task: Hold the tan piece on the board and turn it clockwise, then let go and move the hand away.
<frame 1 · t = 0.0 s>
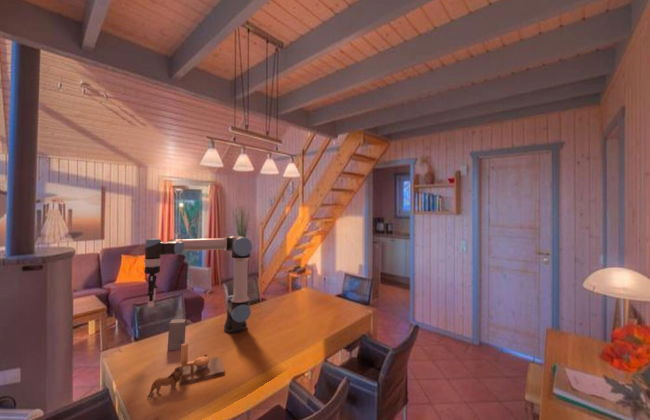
hand: (151, 303, 161), 28 cm above the table, fingers open, 13 cm apart
board: (201, 371, 144), on the table
lion figurine: (166, 391, 128), on the table
tan piece: (195, 353, 142), point 10 cm above the table, hinge at 0.0°
skincare box: (176, 347, 168), on the table
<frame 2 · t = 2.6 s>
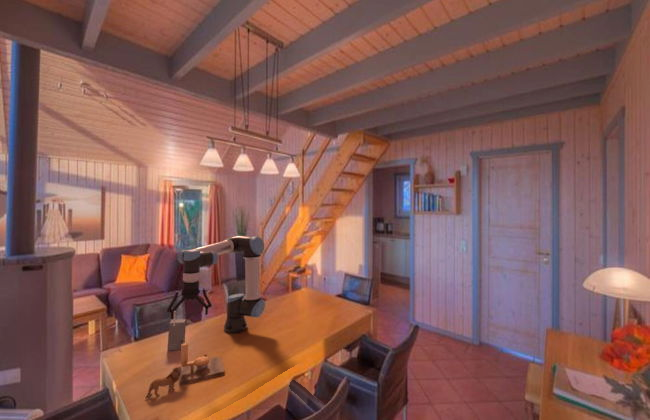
hand: (189, 323, 143), 24 cm above the table, fingers open, 13 cm apart
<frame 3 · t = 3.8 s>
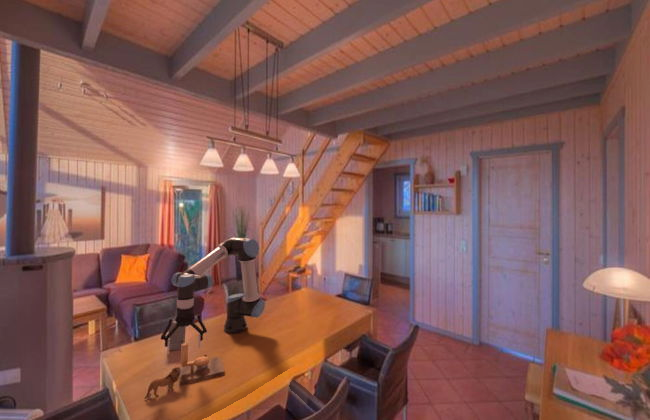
hand: (184, 350, 140), 12 cm above the table, fingers open, 13 cm apart
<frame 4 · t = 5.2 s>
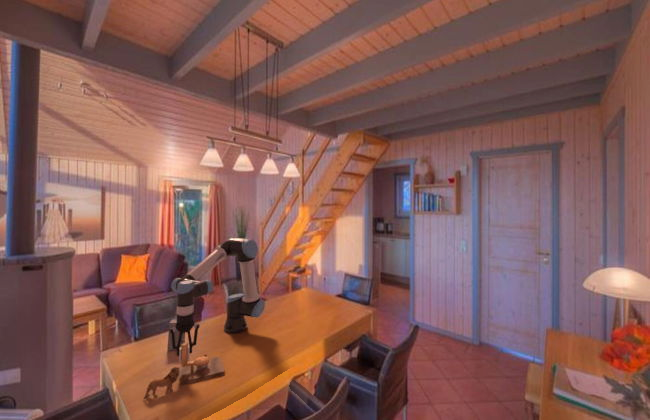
hand: (184, 360, 140), 7 cm above the table, fingers closed on tan piece, 3 cm apart
tan piece: (195, 353, 142), point 10 cm above the table, hinge at 0.0°, touching gripper
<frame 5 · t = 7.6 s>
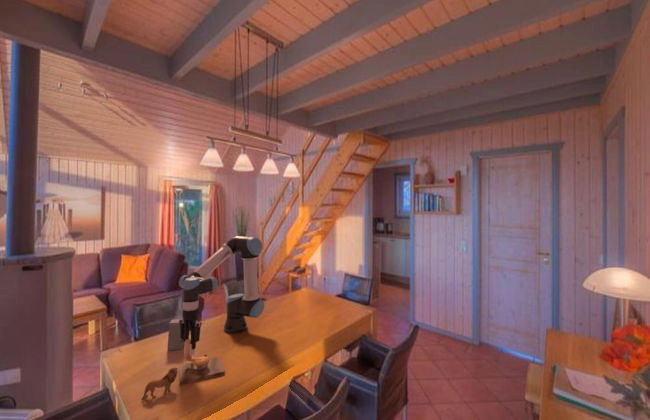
hand: (189, 354, 146), 7 cm above the table, fingers closed on tan piece, 3 cm apart
tan piece: (196, 351, 145), point 10 cm above the table, hinge at 42.7°, touching gripper
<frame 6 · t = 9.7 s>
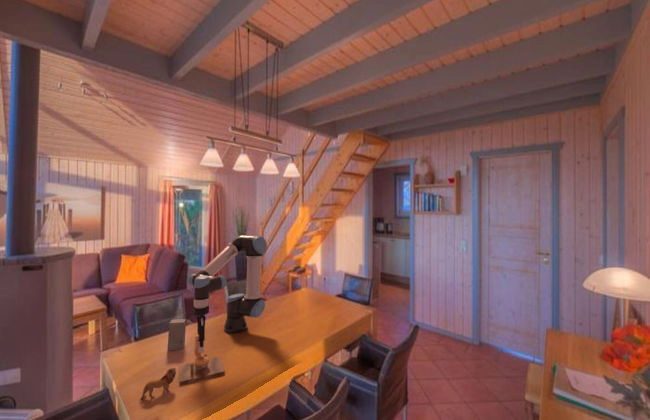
hand: (200, 349, 151), 7 cm above the table, fingers open, 6 cm apart
tan piece: (200, 349, 146), point 10 cm above the table, hinge at 80.5°
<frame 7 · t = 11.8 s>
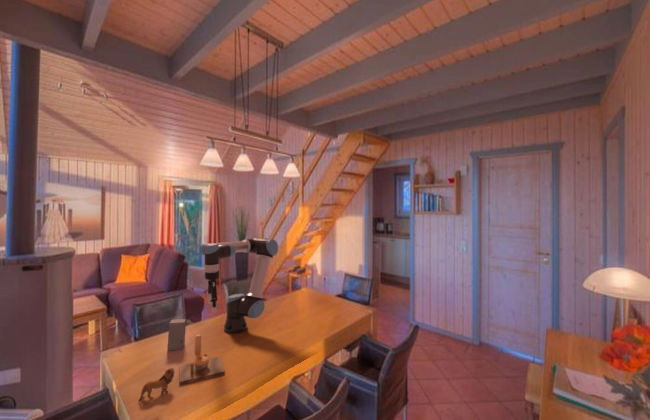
hand: (212, 308, 161), 26 cm above the table, fingers open, 13 cm apart
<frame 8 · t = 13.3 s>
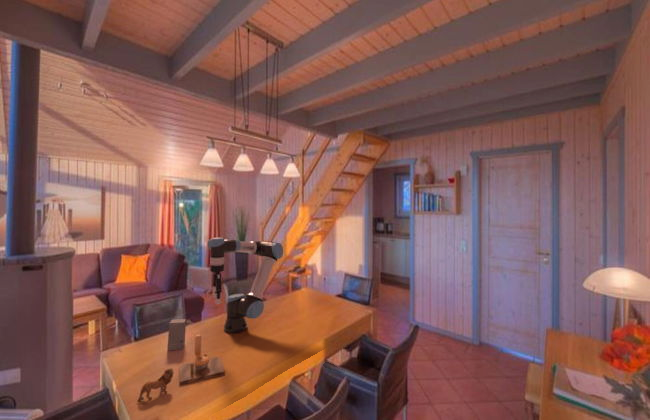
hand: (216, 300, 166), 29 cm above the table, fingers open, 13 cm apart
at the end: tan piece at +80° (first picture: +0°); the gripper is holding nothing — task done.
